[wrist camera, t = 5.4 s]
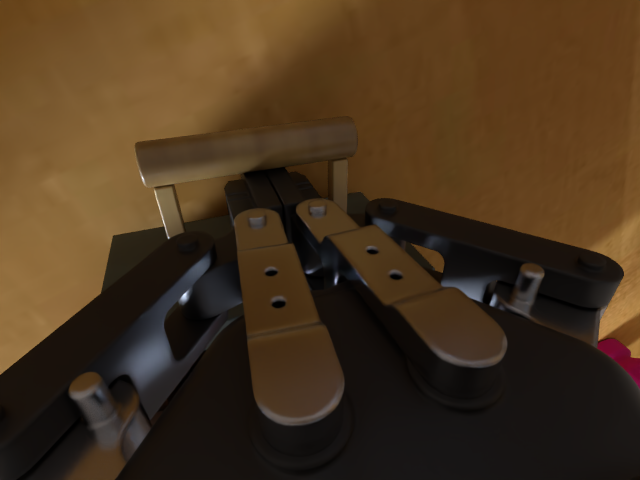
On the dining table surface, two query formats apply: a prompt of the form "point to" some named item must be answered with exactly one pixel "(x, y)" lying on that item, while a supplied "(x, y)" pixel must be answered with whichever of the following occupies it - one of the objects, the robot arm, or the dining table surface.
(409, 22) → the dining table surface
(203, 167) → the drawer
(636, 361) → the pepper mill
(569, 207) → the dining table surface
